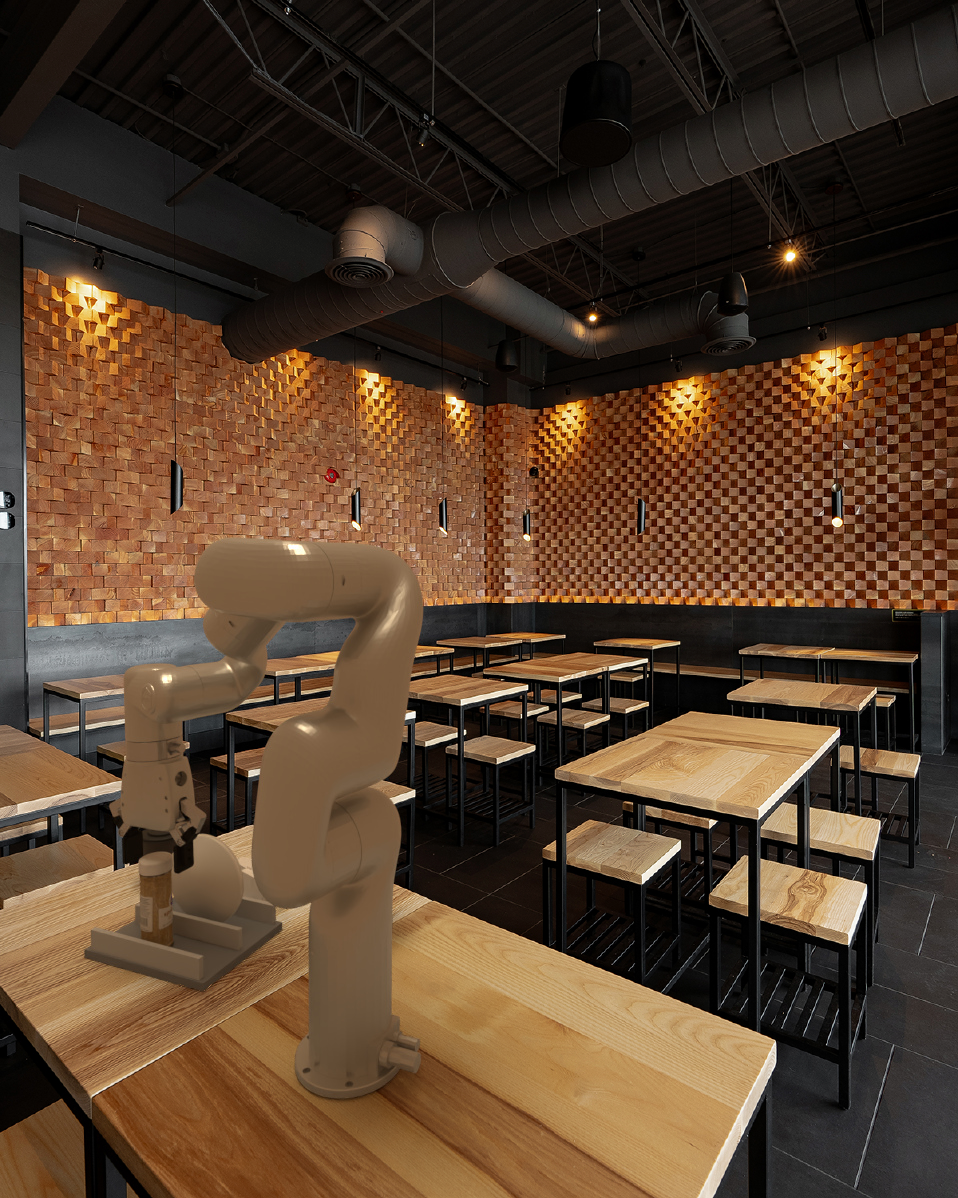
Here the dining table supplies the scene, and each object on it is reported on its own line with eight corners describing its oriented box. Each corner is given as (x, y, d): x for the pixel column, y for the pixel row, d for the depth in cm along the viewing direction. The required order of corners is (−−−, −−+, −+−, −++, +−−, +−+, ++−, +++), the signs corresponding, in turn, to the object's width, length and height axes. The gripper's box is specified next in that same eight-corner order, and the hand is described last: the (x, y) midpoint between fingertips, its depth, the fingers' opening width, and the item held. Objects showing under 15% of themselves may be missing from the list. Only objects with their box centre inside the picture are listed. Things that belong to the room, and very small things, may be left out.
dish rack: (282, 929, 107) (281, 835, 107) (203, 992, 91) (202, 881, 91) (174, 904, 115) (173, 815, 114) (84, 957, 99) (82, 855, 98)
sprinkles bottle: (176, 949, 99) (175, 859, 99) (141, 958, 97) (140, 866, 96) (170, 934, 103) (169, 848, 103) (137, 943, 101) (136, 854, 100)
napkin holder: (285, 915, 113) (285, 882, 112) (213, 922, 110) (212, 888, 110) (290, 875, 127) (290, 845, 127) (227, 880, 125) (226, 850, 125)
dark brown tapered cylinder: (172, 868, 129) (172, 816, 128) (196, 880, 124) (196, 826, 123) (129, 884, 122) (129, 829, 122) (153, 897, 117) (152, 840, 117)
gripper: (220, 747, 99) (223, 863, 100) (131, 739, 105) (134, 848, 106) (181, 760, 92) (184, 884, 93) (88, 751, 98) (92, 867, 99)
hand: (158, 865), depth 99 cm, fingers open, 9 cm apart
